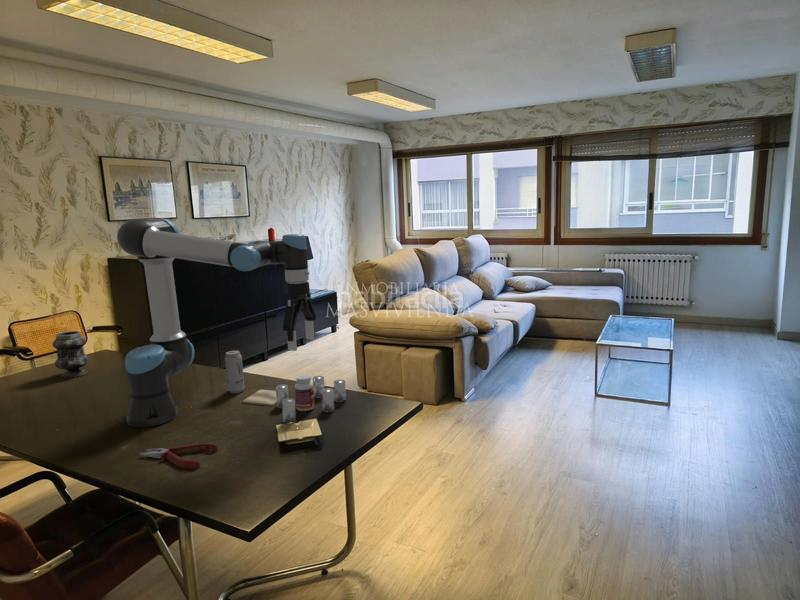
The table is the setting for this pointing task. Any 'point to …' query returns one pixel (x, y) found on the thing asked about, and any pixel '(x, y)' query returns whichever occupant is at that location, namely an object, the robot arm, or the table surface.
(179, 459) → the pliers
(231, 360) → the energy drink can
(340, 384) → the grey cylinder
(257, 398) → the coaster
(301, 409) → the pill bottle
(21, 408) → the table surface
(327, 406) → the cylinder
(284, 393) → the cylinder
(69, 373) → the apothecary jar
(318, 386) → the cylinder
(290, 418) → the spacer near
